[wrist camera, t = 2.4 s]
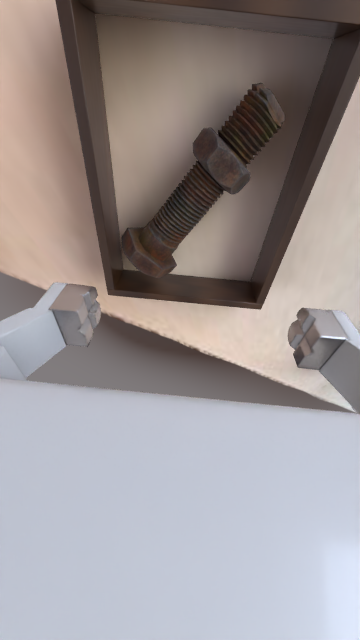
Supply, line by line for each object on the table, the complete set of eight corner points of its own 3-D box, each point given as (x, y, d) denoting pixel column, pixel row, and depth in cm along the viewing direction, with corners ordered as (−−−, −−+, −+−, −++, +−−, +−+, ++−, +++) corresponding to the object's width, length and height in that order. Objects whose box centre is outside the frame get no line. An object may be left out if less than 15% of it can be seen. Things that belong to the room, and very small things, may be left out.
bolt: (266, 109, 18) (155, 246, 27) (232, 50, 15) (115, 229, 23) (309, 147, 16) (172, 285, 24) (282, 86, 12) (131, 274, 20)
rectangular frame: (117, 274, 28) (107, 295, 25) (79, -10, 14) (48, -37, 11) (254, 287, 28) (261, 309, 25) (353, 19, 14) (391, 1, 11)
